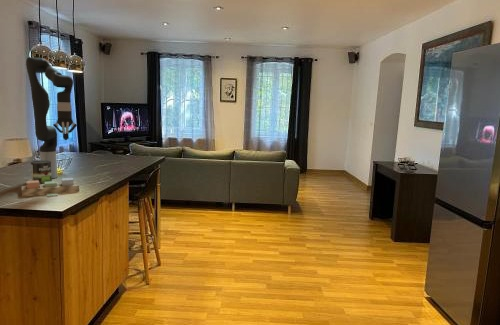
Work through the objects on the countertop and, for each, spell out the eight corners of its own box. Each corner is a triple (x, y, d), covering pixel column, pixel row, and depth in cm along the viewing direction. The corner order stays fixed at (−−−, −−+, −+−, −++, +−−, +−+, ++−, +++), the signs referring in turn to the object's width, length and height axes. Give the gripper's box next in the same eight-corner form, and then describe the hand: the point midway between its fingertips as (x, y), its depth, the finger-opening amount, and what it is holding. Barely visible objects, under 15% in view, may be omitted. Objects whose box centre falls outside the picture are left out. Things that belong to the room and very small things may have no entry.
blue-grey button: (62, 187, 203) (62, 180, 202) (61, 185, 207) (61, 178, 207) (73, 186, 205) (73, 179, 205) (72, 184, 210) (72, 177, 209)
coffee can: (55, 185, 218) (54, 161, 216) (38, 188, 210) (36, 163, 207) (46, 182, 224) (44, 159, 221) (28, 185, 215) (26, 161, 213)
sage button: (45, 191, 198) (45, 183, 198) (44, 188, 203) (44, 181, 202) (57, 190, 201) (56, 183, 201) (56, 187, 206) (55, 181, 205)
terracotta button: (27, 190, 194) (26, 183, 193) (27, 188, 199) (26, 181, 198) (39, 189, 197) (38, 182, 196) (38, 187, 201) (38, 180, 201)
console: (22, 196, 191) (21, 190, 190) (22, 192, 200) (21, 185, 199) (79, 191, 205) (79, 185, 204) (76, 187, 214) (76, 181, 213)
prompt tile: (47, 197, 192) (47, 195, 192) (46, 194, 196) (46, 193, 196) (57, 196, 194) (57, 194, 194) (57, 193, 199) (57, 192, 199)
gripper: (76, 110, 220) (77, 138, 223) (51, 109, 213) (52, 139, 216) (77, 110, 214) (78, 140, 216) (51, 110, 207) (53, 140, 210)
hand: (65, 139), depth 216 cm, fingers closed
